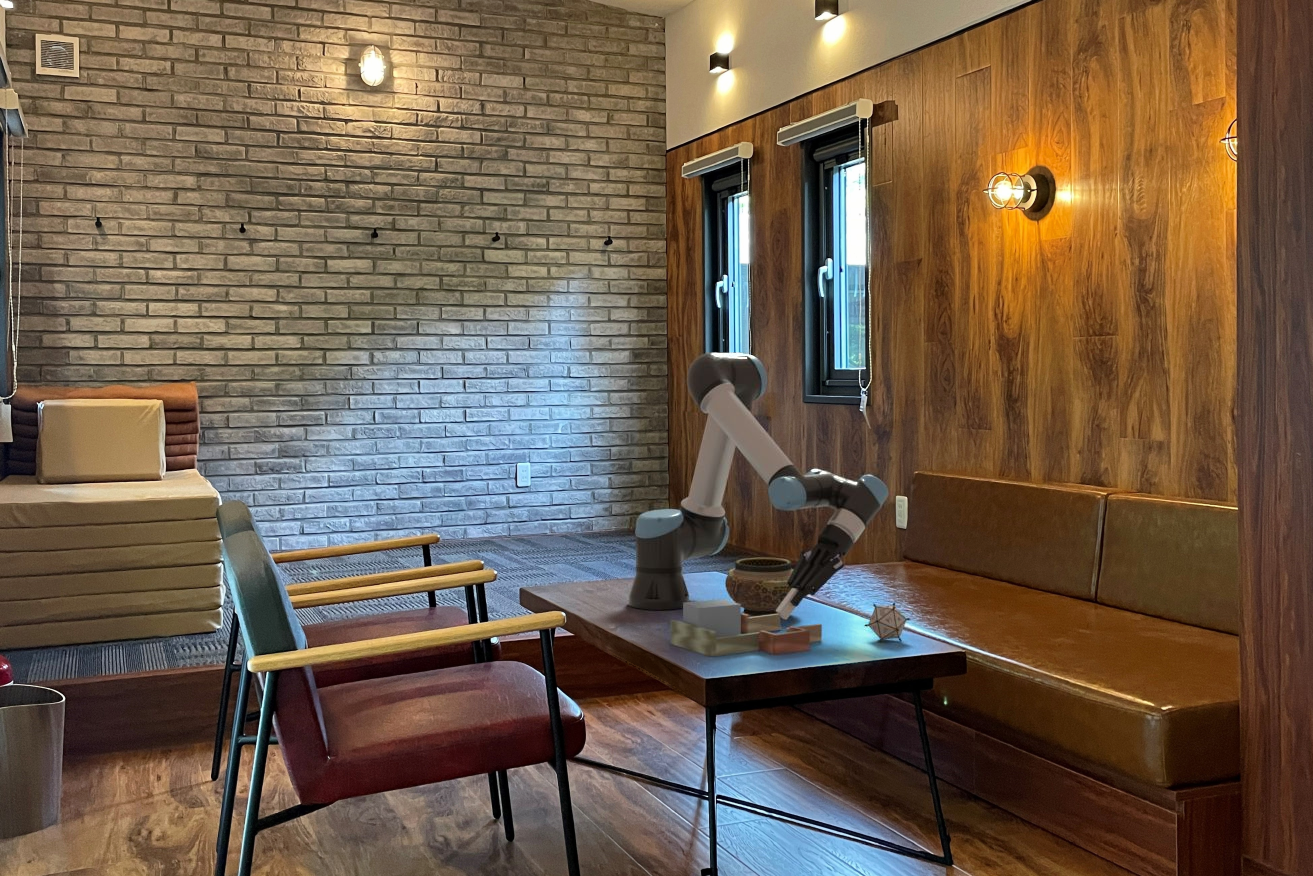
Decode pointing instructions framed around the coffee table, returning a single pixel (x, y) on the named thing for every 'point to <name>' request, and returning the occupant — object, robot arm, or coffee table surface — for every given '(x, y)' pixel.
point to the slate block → (714, 616)
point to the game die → (887, 622)
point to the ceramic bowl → (759, 584)
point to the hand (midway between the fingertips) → (781, 615)
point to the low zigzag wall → (746, 637)
